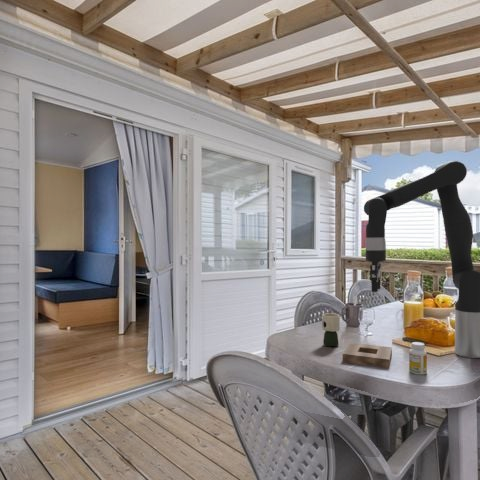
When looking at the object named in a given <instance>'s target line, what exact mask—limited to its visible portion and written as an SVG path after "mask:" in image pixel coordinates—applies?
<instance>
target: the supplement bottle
mask: <svg viewBox="0 0 480 480" xmlns="http://www.w3.org/2000/svg"><path fill="white" fill-rule="evenodd" d="M425 348H426V347H425V343H424V342H419V341H415V342H414V341H413V342H411V348H410V349H409V350H408V351H409V352H408V353H409V354H408V357H409V358H408V359H409V360H408V362H409V363H408V364H409V365H408V370H409V372H410V373H411V374H415V375H420V376H421V375H422V376H423V375H426V374H427V372H428V368H427V366H428V363H427V361H428V360H427V357H428V356H427V353H428V352H427V351H426V350H425Z"/></svg>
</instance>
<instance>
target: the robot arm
mask: <svg viewBox="0 0 480 480" xmlns="http://www.w3.org/2000/svg"><path fill="white" fill-rule="evenodd" d="M467 172H468V170H467V167H466V165H465V164H464V163H463V162H460V161H459V160H458V161H456V160H451V161H450V160H449V161H448V162H447V161H446V162H445V163H443V164H441V165H439V166H437V167H436V168H435V170H434V171H433V172H432V173H429V174H428V175H425V176H423V177H421V178H418V179H416V180H413V181H411V182H408V183H405V184H402V185H401V186H398V187H396V188H393V189H391V190H389V191H388V192H385V193H384V194H381V195H379V196H376V197H373V198H371V199H369V200H367V201H366V202H365V203H364V205H363V211H364V213H365V214H366V215H367V216H368V219H367V220H368V221H367V224H366V225H365V261H366V262H371V264H370V265H369V272H370V273H369V275H370V278H369V281H370V283H371V292H373V293H377V292H378V291H379V290H380V289H381V279H382V269H383V268H382V262H386V260H387V251H386V250H387V244H386V221H387V214H388V211H389V210H392V209H396V208H399V207H401V206H403V205H406V204H408V203H410V202H412V201H414V200H416V199H419V198H421V197H423V196H424V195H427V194H429V193H431V192H433V191H437V195H438V198H439V202H440V208H441V214H442V221H443V225H444V226H443V227H444V233H445V238H446V241H447V245H448V246H447V247H448V251H449V256H450V261H451V275H452V282H453V285H454V287H455V288H456V289H457V290H458V299H457V301H456V302H455V304H454V305H455V306H454V354H456V355H457V356H460V357H464V358H471V359H480V271H479V270H476V269H475V268H474V264H473V261H472V247H473V246H472V245H473V241H474V238H473V237H474V235H473V234H474V233H473V226H472V219H471V217H470V214H469V212H468V211H467V209H466V207H465V206H464V204H463V202H462V201H461V199H460V195H459V191H458V185H459V184H460V183H462V182H463V181H464V180H465V179H466V177H467V174H468V173H467Z"/></svg>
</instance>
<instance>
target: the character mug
mask: <svg viewBox="0 0 480 480" xmlns="http://www.w3.org/2000/svg"><path fill="white" fill-rule="evenodd" d="M321 316H322V317H321V318H322V319H321V320H322V322H321V325H322V326H321V328H322V330H323V331H325V332H324V335H323V342H322V343H323V345H324V346H326V347H330V348H332V347H334V346H335V347H336V346H339V336H338V333H337V332H339V331H340V324H341V323H340V319H341V318H340V316H341V315H340V314H338V313H332V312H329V313H322V315H321Z"/></svg>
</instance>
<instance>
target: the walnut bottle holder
mask: <svg viewBox="0 0 480 480" xmlns="http://www.w3.org/2000/svg"><path fill="white" fill-rule="evenodd" d="M392 356H393V347H390V346H381V345H374V344H365V343H355V342H348V344H347V346H346V347H345V349H344V351H343V352H342V363H349V364H356V365H361V366H362V365H363V366H370V367H378V368H386V369H390V367H391V361H392Z"/></svg>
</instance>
